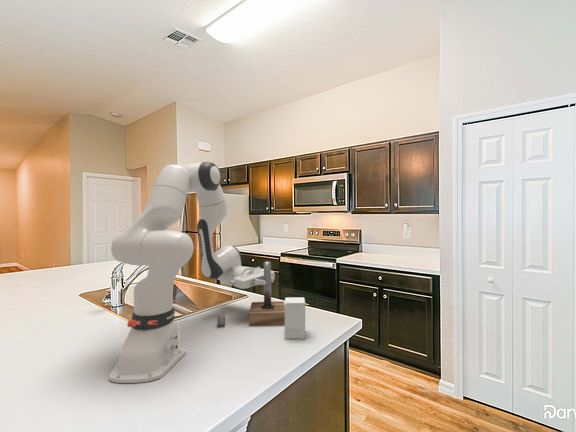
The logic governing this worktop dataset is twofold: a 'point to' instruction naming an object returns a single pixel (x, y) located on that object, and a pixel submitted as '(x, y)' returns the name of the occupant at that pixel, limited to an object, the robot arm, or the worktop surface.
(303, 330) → the supplement box
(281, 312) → the collar block
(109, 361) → the worktop surface
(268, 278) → the long pin
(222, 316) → the short pin
